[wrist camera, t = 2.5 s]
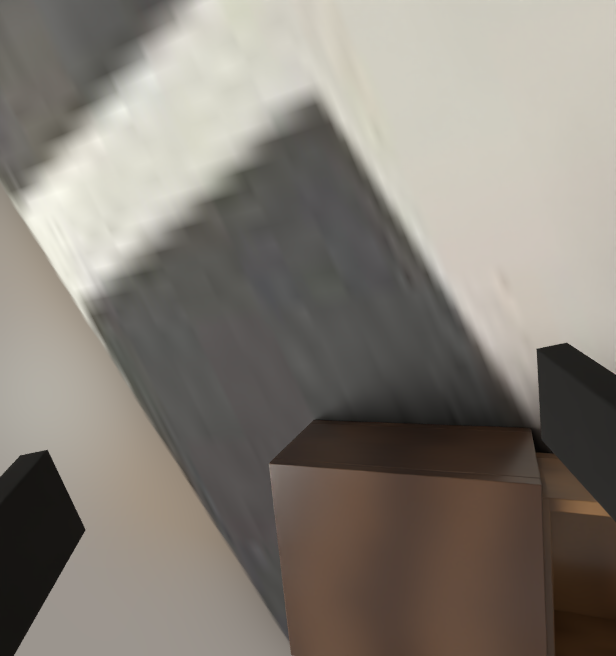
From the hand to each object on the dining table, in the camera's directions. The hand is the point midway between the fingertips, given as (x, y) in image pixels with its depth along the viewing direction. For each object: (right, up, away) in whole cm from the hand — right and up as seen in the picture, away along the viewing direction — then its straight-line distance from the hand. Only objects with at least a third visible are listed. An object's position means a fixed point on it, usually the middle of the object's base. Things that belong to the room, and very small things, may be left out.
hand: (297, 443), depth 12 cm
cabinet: (+9, -11, +25) cm, 29 cm away
